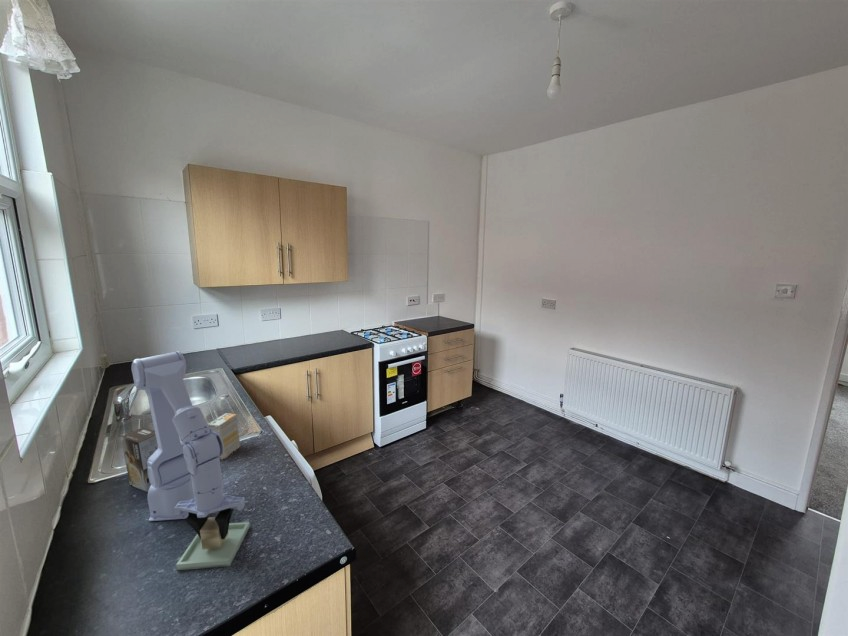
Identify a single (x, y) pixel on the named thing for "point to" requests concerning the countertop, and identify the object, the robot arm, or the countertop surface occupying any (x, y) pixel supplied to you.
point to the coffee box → (139, 455)
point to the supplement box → (227, 432)
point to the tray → (214, 550)
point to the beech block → (211, 535)
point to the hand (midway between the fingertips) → (214, 536)
